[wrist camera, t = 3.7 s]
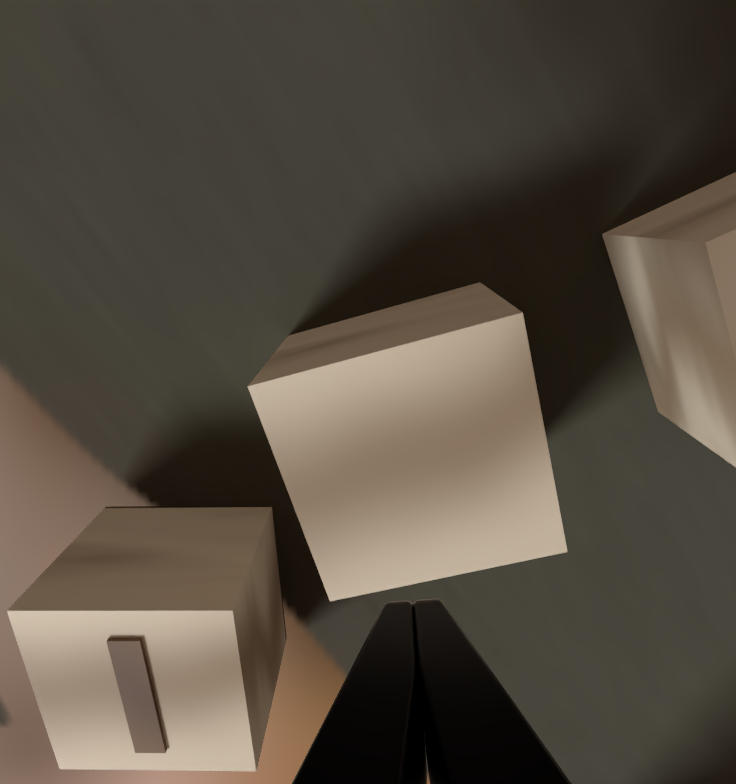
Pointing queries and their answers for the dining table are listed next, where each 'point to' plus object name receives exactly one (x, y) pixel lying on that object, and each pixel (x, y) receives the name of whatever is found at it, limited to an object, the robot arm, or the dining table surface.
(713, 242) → the block
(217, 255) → the dining table surface
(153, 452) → the dining table surface
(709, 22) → the dining table surface
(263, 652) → the one-stroke block
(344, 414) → the plain block
